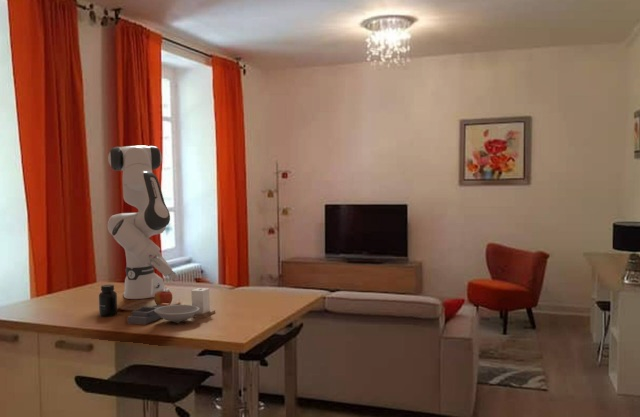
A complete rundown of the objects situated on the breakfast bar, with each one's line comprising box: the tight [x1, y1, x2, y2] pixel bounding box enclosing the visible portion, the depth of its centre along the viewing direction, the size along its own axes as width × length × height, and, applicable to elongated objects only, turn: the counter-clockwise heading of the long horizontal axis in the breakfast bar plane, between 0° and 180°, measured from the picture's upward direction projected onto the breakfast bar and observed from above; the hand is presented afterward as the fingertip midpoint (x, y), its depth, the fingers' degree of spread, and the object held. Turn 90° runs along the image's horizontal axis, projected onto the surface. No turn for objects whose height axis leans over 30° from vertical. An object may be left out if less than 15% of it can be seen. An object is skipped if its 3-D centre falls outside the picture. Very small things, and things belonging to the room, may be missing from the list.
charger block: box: [191, 287, 211, 314], centre depth 216 cm, size 5×5×9 cm
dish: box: [154, 304, 200, 324], centre depth 205 cm, size 18×14×5 cm
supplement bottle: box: [98, 284, 118, 318], centre depth 219 cm, size 7×7×12 cm
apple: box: [153, 287, 173, 306], centre depth 229 cm, size 7×7×8 cm
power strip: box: [127, 303, 171, 325], centre depth 217 cm, size 26×8×4 cm, turn 162°
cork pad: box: [191, 309, 216, 319], centre depth 216 cm, size 8×8×1 cm
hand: (175, 277), depth 212 cm, fingers open, 8 cm apart
